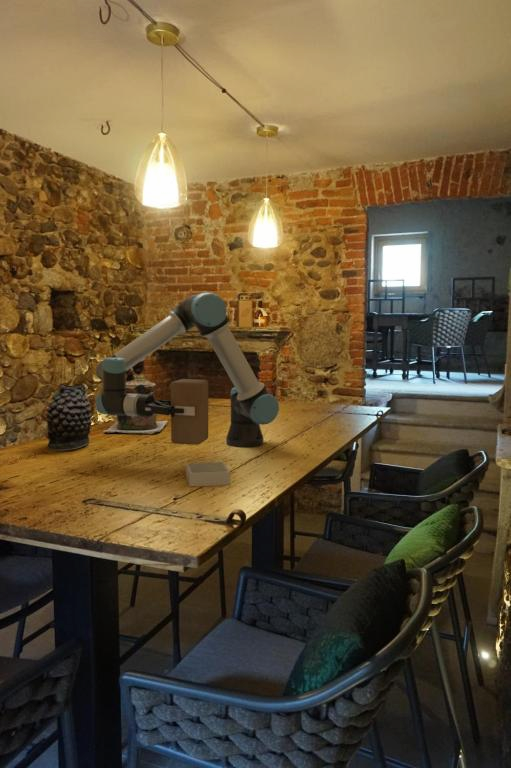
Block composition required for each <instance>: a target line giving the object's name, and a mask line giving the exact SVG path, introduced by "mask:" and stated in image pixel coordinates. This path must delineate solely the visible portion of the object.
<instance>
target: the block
mask: <svg viewBox="0 0 511 768" xmlns="http://www.w3.org/2000/svg"><path fill="white" fill-rule="evenodd" d="M170 400H171V406H174V408H175V406H189V407H195V415H194V416H191V415H175V413H174V417H171V416H170V437H171V438H170V440H171V443H172V444H178V445H196V446H197V445H201V444H202V443H204V442H205V441H206V440H208V439H209V410H208V402H209V382H208V380H206V379H195V378H193V379H192V378H191V379H190V378H182V379H181V378H180V379H178V380H174V381H171V383H170Z"/></svg>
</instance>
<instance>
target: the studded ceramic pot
mask: <svg viewBox="0 0 511 768" xmlns="http://www.w3.org/2000/svg"><path fill="white" fill-rule="evenodd" d="M88 389H89V387H88V385H87V384H86V383H83V382H81V383H80V384H77V383H75V385H69V383H67V385H65V384H63V383H60V384H59V389H58V390H56V391H55V392H54V394H53V395H52V398H51V401H50V403H49V404H48V405H49V406H48V407H47V408H46V413H45V415H46V417H45V419H46V420H45V421H46V422H47V423H46V426H47V429H48V430H47V432H46V433H45V434H44V438H46V439H48V443H47V448H48V449H49V450H51V451H61V452H62V451H69V450H70V451H71V450H76V449H80V448H83V447H85V446H87V445H89V444H90V437H89V435H90V433H91V429H92V424H93V422H92V409H91V402H90V401H89V400H88V399H89V397H88V395H87V393H88V392H87V390H88Z"/></svg>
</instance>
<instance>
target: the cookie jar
mask: <svg viewBox="0 0 511 768" xmlns="http://www.w3.org/2000/svg"><path fill="white" fill-rule="evenodd" d="M145 360H146V358H144V359H143V360H141V361H140V362H139V363H137V364H136V365H134V366H133V367H132V368H130V369H129V370H127V371H126V393H127V394H129V393H131V394H149V395H152V396H153V397H154V398H155V399H156V393H155V390H156V387H157V384H156V383H154V382H151V381H149V379H147V378H146V376H145V374H146V370H147V368H145V366H146V365H145ZM157 416H158V414H153V415H152V416H151V417H141V416H135V417H134V418H132V416H124V415H115V417H116V419H117V421H116V422H114V423H113V424H112V425H110V426H109V428H108V429H105V430H103V431H102V432H103V433H104V434H105V432H106V433H116V432H117V433H123V434H149V435H152V434H155V433H159V432H161V431H162V430H163V429H164V428H165V426H167V424H168V420H163V421H161V420H159V421H157Z"/></svg>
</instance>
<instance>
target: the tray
mask: <svg viewBox="0 0 511 768" xmlns="http://www.w3.org/2000/svg"><path fill="white" fill-rule="evenodd" d="M185 476H186V480H187V483H188V485H190V486H196V487H210V486H211V487H212V486H230V485H231V471H230V469H229V467H228V466H227V464H226V463H225V461H214V462H192V463H190V462H189V463H185ZM190 486H189V487H190Z"/></svg>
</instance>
